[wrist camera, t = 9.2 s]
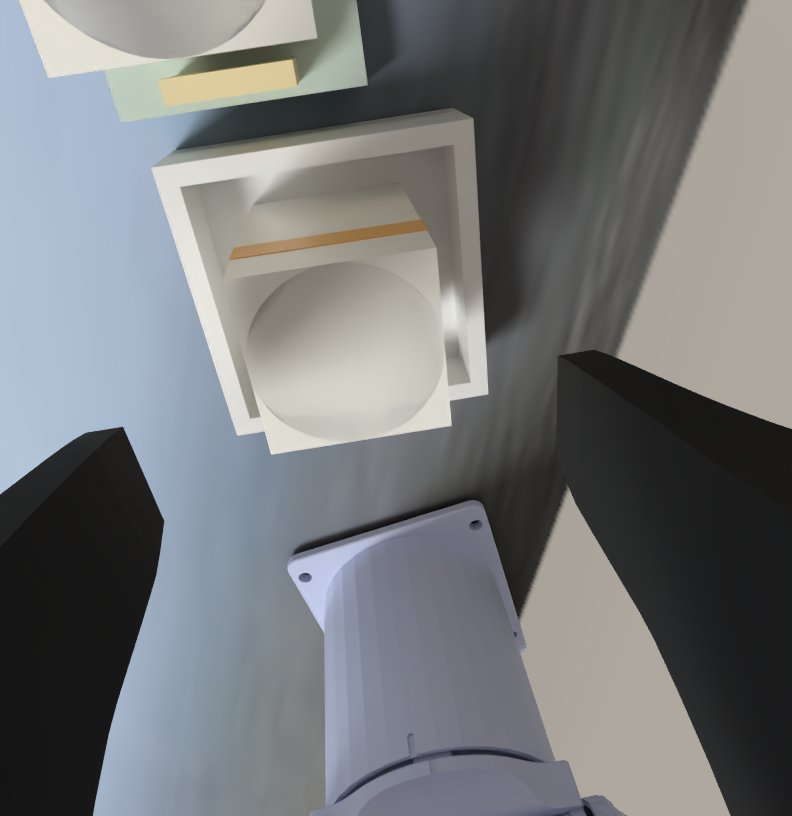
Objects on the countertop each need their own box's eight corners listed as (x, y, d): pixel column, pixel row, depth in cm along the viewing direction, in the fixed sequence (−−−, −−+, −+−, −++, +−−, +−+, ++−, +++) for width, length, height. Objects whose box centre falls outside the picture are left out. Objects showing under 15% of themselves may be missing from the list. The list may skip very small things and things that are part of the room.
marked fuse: (416, 319, 19) (452, 426, 13) (284, 340, 18) (270, 455, 13) (400, 181, 16) (437, 246, 11) (251, 204, 16) (220, 279, 11)
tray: (469, 355, 20) (488, 394, 18) (246, 391, 20) (237, 435, 18) (452, 107, 16) (473, 118, 14) (174, 150, 16) (151, 167, 14)
